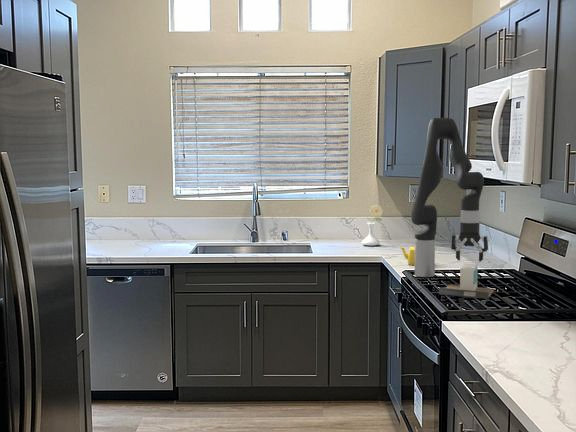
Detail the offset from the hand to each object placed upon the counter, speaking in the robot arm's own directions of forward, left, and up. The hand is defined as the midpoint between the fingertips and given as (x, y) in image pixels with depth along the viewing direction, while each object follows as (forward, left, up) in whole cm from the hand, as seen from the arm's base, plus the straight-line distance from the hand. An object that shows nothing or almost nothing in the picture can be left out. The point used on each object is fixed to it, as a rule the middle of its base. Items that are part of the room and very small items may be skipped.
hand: (469, 260), depth 253 cm
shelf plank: (+2, 0, -14) cm, 14 cm away
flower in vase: (-103, -77, -14) cm, 129 cm away
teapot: (-56, -36, -14) cm, 68 cm away
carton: (0, 0, -12) cm, 12 cm away
